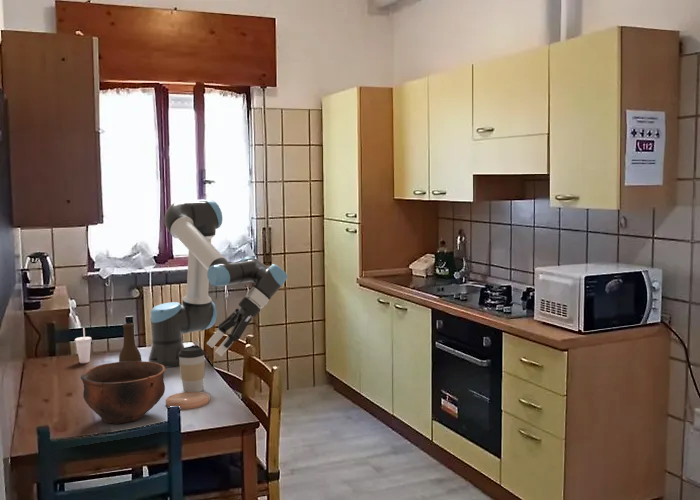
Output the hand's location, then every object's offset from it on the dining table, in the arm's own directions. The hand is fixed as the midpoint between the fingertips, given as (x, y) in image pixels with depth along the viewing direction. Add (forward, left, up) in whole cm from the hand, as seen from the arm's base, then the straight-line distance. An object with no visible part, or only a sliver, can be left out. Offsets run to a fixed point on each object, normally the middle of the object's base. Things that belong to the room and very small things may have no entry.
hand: (213, 349), depth 255 cm
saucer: (+15, -8, -13) cm, 22 cm away
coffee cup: (+1, -7, -14) cm, 16 cm away
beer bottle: (-2, -28, -14) cm, 32 cm away
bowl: (+26, -26, -14) cm, 39 cm away
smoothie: (-49, -53, -14) cm, 74 cm away
